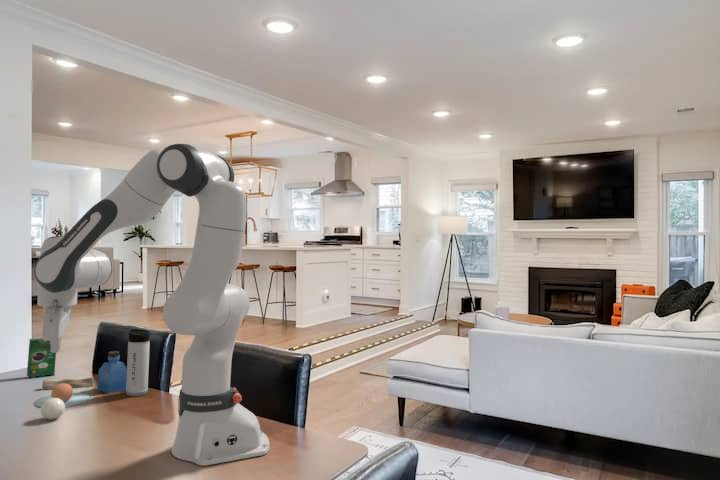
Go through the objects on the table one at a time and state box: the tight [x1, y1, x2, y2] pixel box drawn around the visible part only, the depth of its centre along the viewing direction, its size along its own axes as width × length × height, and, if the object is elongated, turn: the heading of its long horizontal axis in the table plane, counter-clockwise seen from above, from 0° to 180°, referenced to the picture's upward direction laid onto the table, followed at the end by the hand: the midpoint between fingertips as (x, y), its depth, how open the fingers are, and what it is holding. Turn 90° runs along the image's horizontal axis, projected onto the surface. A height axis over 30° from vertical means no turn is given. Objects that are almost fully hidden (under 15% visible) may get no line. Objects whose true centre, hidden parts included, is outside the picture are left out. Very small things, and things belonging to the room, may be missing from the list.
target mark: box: [34, 392, 90, 408], centre depth 148 cm, size 14×14×1 cm
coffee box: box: [26, 337, 57, 378], centre depth 171 cm, size 8×3×13 cm, turn 130°
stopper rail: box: [41, 376, 94, 390], centre depth 161 cm, size 14×2×2 cm, turn 115°
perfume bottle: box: [97, 350, 127, 394], centre depth 160 cm, size 6×6×12 cm
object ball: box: [50, 383, 74, 402], centre depth 146 cm, size 6×6×6 cm
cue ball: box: [40, 398, 66, 420], centre depth 133 cm, size 6×6×6 cm
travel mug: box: [125, 328, 151, 397], centre depth 157 cm, size 6×7×20 cm
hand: (55, 351), depth 129 cm, fingers closed
